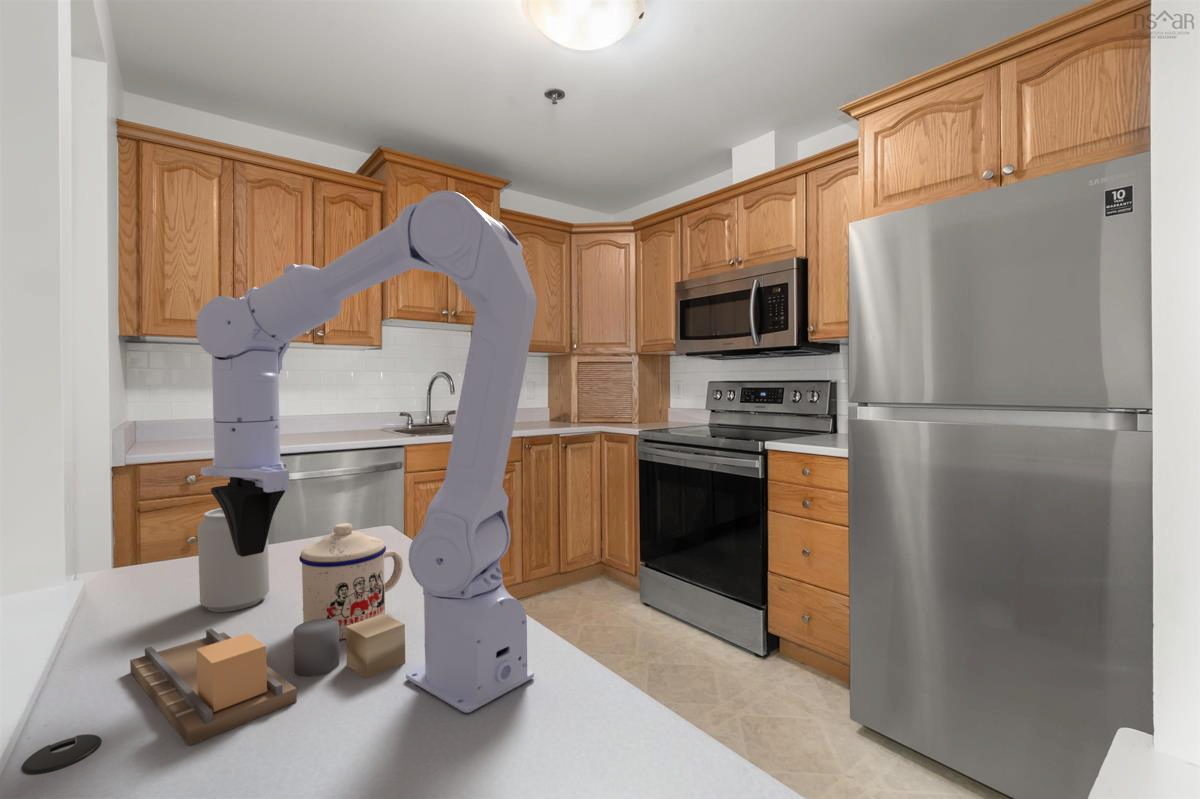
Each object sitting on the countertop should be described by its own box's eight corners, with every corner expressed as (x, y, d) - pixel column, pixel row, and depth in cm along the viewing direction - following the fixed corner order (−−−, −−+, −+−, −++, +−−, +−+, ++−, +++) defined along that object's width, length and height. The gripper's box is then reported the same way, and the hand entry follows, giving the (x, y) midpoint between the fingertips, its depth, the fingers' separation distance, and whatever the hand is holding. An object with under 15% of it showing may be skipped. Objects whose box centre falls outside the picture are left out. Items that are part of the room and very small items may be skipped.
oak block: (405, 663, 58) (404, 623, 58) (367, 679, 55) (366, 637, 55) (384, 651, 61) (383, 613, 60) (346, 666, 57) (345, 626, 57)
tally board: (296, 701, 51) (296, 679, 51) (188, 746, 45) (187, 720, 45) (224, 643, 62) (223, 624, 62) (129, 672, 56) (129, 651, 56)
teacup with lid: (327, 650, 61) (324, 540, 60) (286, 628, 66) (283, 527, 66) (424, 613, 70) (422, 517, 70) (381, 596, 76) (379, 507, 75)
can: (282, 592, 77) (279, 503, 77) (242, 615, 70) (239, 516, 70) (229, 591, 78) (227, 502, 78) (184, 613, 71) (181, 515, 70)
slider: (267, 691, 50) (265, 645, 50) (213, 712, 47) (212, 663, 47) (249, 676, 53) (248, 633, 52) (197, 695, 50) (196, 648, 49)
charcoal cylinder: (346, 665, 57) (345, 625, 57) (305, 681, 54) (304, 639, 54) (327, 653, 60) (327, 615, 60) (287, 668, 57) (286, 628, 57)
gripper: (177, 419, 60) (181, 549, 61) (228, 426, 51) (232, 579, 52) (252, 416, 66) (255, 535, 66) (310, 422, 57) (313, 560, 57)
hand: (250, 553), depth 59 cm, fingers closed
